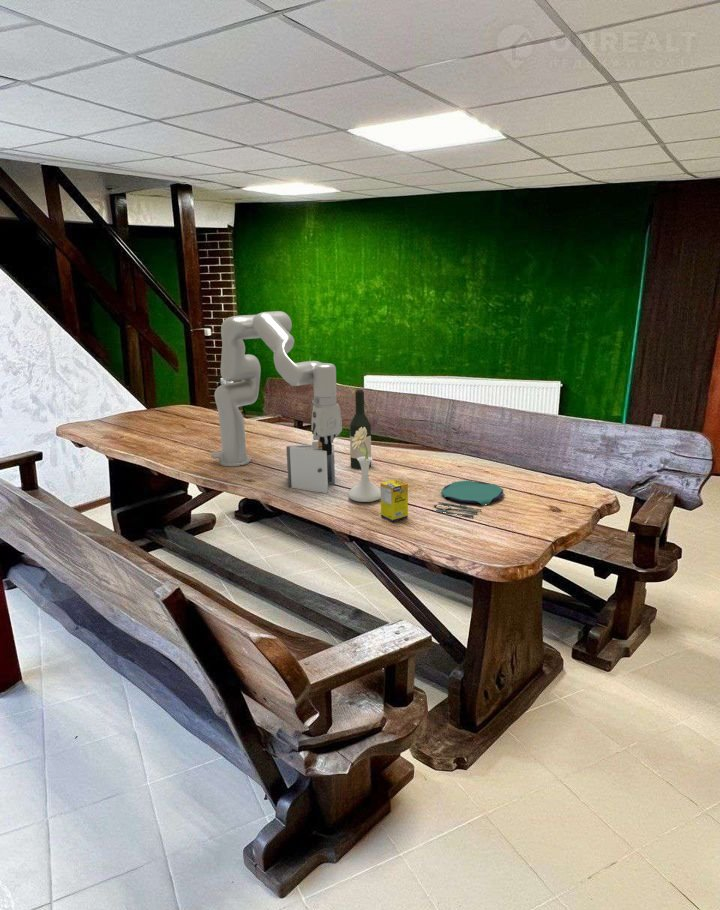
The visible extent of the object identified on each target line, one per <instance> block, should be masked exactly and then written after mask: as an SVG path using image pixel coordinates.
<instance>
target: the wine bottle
mask: <svg viewBox="0 0 720 910" xmlns="http://www.w3.org/2000/svg"><path fill="white" fill-rule="evenodd" d="M354 393H355V396H354V397H355V413H354V416H353V417H352V418H351V421H350V423H349V443H350V444H349V450H350V456H349V457H350V468H351V469H356V470H361V465H360V463H359V461H358V460H357V458H359V457H365V456H366V455H364V454H363V453H361V452H360V448H361V447H360V448H359V449H356V450H355V449H354V450H353V448H354V447H351V446H352V443H353V442H354V441H352V439H353V438H354V437H355V436H354V435H355V434H356V431H359V428H361V427H362V429H363V428H364V427H365V428H366V430H367V432H366V433H367V435H366V438H365V441H364V442H365V444H366V447H367V452H368V451H369V453H368V457H371V458H372V436H371V435H372V426H371V422H370V420H369V419H368V417H367V416H366V414H365V391H364V389H363V388H357V389H356V391H355V392H354ZM361 446H362V447H363V448H364V449H365V450H366V447H365V445H364V443H363V444H362V445H361ZM369 467H370V468H372V461H371V462H370V465H369Z"/></svg>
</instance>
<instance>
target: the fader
mask: <svg viewBox="0 0 720 910" xmlns="http://www.w3.org/2000/svg"><path fill="white" fill-rule="evenodd" d="M311 442H312V444H311V445H312V449H318V440H314V439H312V441H311Z"/></svg>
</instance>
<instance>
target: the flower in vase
mask: <svg viewBox="0 0 720 910" xmlns="http://www.w3.org/2000/svg"><path fill="white" fill-rule="evenodd" d="M366 432H367V430H366V428H365V427H364V428H363V429H362V427H361V428H359V431H356V434H355V435H354V436H355V437H354V438H353V439H352V441H354V442H353V443H352V446H351V447H354V448H353V450H354V449H355V450H356V449H359V448H360V447H361V448H360V452H361V453H363V454H364V455H366V456H365V457H359V458H357V460H358V461H359V463H360V465H361V469H360V470H361V479H360V481H359V482H358V483H356V484H355V485H354V486H353V487H352V488H350V490H349V491H348V493H347V497H348V498H349V499H350V500H352V501H356V502H360V503H370V502H374V501H378V500H381V488H379V486H377V485H376V484H374V483H373V482H372V481H371V480H370V477H369V473H370V472H369V465H370V462H371V463H372V461H373V457H372V456H371V457H368V453H369V451H368V452H367V447H366V444H365V442H364V441H365V438H366V435H367V433H366ZM363 443H364V445H365V447H366V450H365V449H364V448H363V447H362V446H361V445H362V444H363Z"/></svg>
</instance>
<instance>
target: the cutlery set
mask: <svg viewBox="0 0 720 910" xmlns="http://www.w3.org/2000/svg"><path fill="white" fill-rule="evenodd" d="M440 494H441V495H442V497H444V498H445V499H447V498H448V499H450V500H452V501H456V502H460V503H467V504H469V503H470V504H480V506H483V505H485V504H488V505H489V504H490V503H492V501H496V500H498V499H500V498H501V497H502V496H503V495H504V489H503V488H502V487H500V486H499V485H497V484H494V483H489V482H484V481H482V482H481V481H474V480H473V481H472V480H469V479H468V480H459V481H454V482H452V483H449V484H447V485H445V486H444V487H443V488H442V490H441V491H440ZM446 497H447V498H446ZM438 503H442V504H438ZM438 503H437V504H434V505H433V507H435V506H437V505H444V504H448V505H444V506H448V507H450V509H454V510H453V511H458V510H459V511H460V512H466V513H458V512H459V511H458V512H453V511H451V510H441V509H443V507H441V508H440V507H435V509H437V508H439V509H437V510H436V512H435V513H438V512H442V513H443V512H446V513H445V514H449V513H452V514H457V515H462V516H467V517H466V518H469V517H475V516H474V514H475V513H476V514H475V515H477V514H478V513H479V510H483V509H482V508H476V507H471V506H467V505H465V504H464V505H462V504H455V503H448V502H442V501H438ZM450 505H454V506H453V507H455V506H458V507H457V508H452V506H450ZM459 507H463V508H459ZM475 509H476V510H475ZM442 513H441V514H442ZM469 513H472V514H469ZM443 514H444V513H443ZM452 514H451V515H452ZM457 515H456V516H457ZM462 516H461V517H462Z"/></svg>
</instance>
